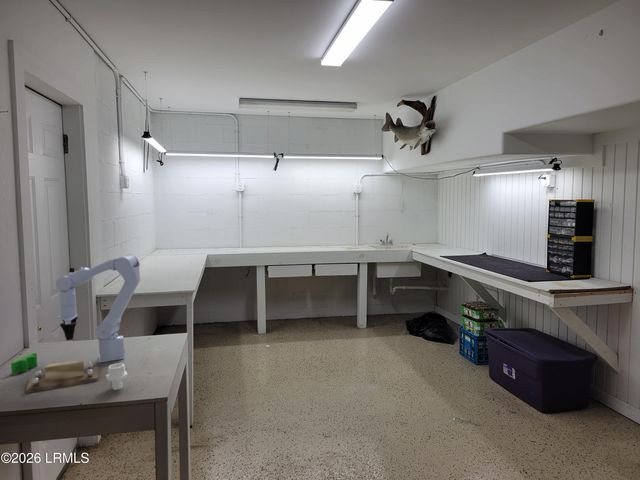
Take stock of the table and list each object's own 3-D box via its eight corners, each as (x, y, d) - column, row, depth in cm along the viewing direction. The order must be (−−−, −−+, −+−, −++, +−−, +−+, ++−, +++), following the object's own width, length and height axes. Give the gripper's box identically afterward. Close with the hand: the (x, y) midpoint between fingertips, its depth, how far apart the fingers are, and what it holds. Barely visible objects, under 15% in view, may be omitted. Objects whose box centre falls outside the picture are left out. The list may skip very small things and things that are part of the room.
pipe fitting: (124, 391, 149) (123, 368, 148) (103, 392, 149) (101, 369, 148) (131, 383, 155) (130, 361, 155) (110, 384, 155) (109, 362, 154)
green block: (20, 375, 164) (19, 363, 164) (11, 374, 165) (10, 363, 164) (43, 363, 175) (42, 352, 175) (34, 363, 176) (33, 352, 175)
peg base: (98, 369, 169) (98, 359, 169) (98, 380, 158) (97, 370, 158) (31, 380, 159) (30, 370, 159) (26, 392, 148) (25, 382, 148)
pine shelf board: (46, 378, 157) (45, 365, 157) (84, 372, 163) (83, 359, 162) (45, 381, 155) (44, 367, 154) (84, 375, 160) (83, 362, 160)
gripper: (58, 302, 182) (60, 333, 183) (55, 309, 169) (57, 343, 170) (77, 300, 185) (79, 331, 187) (75, 307, 172) (77, 341, 174)
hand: (70, 337), depth 179 cm, fingers open, 7 cm apart
